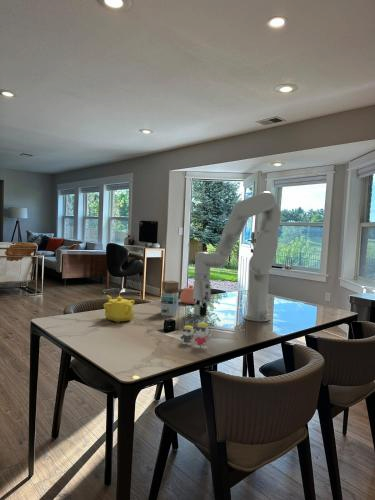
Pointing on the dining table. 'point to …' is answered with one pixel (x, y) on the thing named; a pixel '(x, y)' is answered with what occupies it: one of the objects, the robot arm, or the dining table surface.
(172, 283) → the block
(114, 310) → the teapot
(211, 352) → the dining table surface
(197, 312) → the cube
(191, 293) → the sugar bowl
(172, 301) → the light bulb box
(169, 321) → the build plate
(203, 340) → the toy figures
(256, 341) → the dining table surface
